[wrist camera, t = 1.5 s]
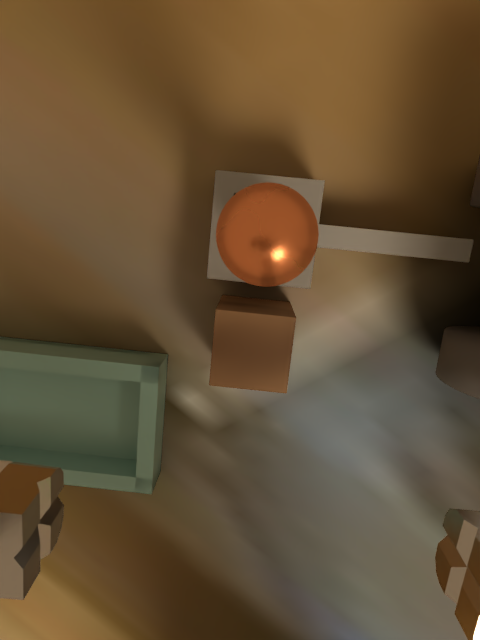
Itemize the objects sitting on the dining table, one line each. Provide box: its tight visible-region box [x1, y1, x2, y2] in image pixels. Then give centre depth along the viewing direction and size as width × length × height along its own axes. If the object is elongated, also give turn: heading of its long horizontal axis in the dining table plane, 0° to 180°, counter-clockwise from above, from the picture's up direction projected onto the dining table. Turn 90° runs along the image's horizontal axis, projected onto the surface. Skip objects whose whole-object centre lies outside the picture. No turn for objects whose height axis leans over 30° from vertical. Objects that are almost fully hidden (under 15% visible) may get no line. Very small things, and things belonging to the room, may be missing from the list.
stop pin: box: [216, 182, 319, 287], centre depth 20 cm, size 3×3×11 cm
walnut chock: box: [209, 295, 296, 393], centre depth 25 cm, size 4×4×4 cm
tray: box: [0, 337, 168, 494], centre depth 27 cm, size 8×13×2 cm, turn 84°
